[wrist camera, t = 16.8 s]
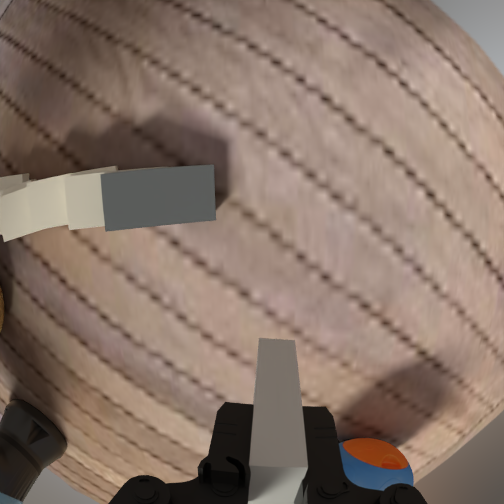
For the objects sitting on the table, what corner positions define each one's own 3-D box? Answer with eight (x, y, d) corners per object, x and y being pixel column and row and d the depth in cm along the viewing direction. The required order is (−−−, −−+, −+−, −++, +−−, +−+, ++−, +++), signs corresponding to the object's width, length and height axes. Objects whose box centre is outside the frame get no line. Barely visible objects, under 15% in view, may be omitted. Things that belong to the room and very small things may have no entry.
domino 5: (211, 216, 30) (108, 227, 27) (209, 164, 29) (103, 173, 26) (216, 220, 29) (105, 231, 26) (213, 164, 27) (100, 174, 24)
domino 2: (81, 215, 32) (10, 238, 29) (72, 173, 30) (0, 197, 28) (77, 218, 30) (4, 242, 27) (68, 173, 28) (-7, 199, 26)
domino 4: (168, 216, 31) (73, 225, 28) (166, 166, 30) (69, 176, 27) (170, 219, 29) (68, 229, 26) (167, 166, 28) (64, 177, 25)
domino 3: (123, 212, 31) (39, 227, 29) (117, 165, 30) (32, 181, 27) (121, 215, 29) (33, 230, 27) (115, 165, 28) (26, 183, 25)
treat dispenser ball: (418, 424, 37) (448, 502, 22) (362, 479, 41) (374, 550, 27) (331, 407, 36) (346, 505, 22) (282, 467, 41) (279, 548, 26)
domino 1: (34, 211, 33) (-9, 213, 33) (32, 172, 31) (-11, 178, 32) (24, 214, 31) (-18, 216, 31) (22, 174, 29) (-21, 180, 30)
